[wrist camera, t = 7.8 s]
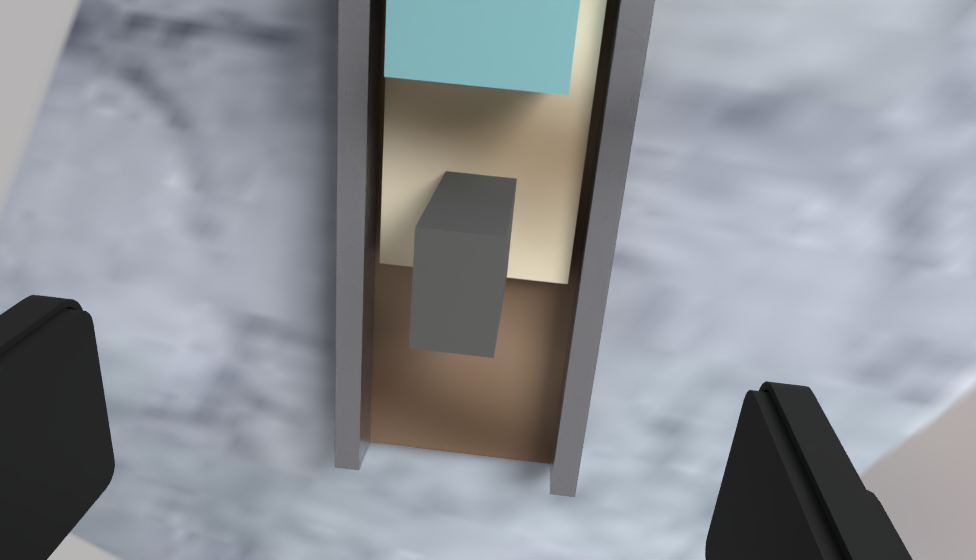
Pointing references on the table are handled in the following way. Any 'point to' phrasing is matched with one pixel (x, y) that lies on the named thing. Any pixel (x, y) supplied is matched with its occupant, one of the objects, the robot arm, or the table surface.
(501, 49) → the cube
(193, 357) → the table surface
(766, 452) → the robot arm
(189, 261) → the table surface
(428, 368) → the board
